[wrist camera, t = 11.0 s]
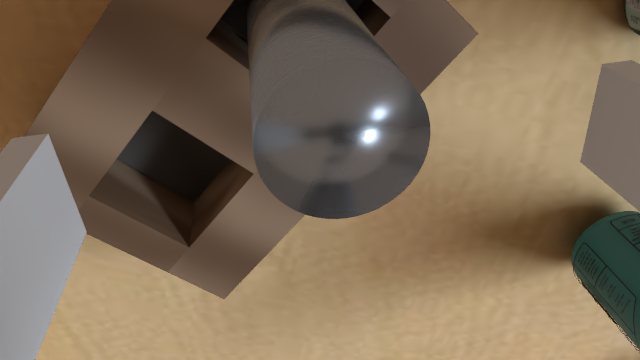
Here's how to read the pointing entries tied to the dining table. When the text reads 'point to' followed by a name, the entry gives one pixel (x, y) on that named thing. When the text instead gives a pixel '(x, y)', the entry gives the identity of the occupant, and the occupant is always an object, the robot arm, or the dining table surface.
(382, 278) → the dining table surface
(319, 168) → the steel peg
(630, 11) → the coffee jar
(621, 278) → the beverage bottle
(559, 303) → the dining table surface
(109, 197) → the peg block
